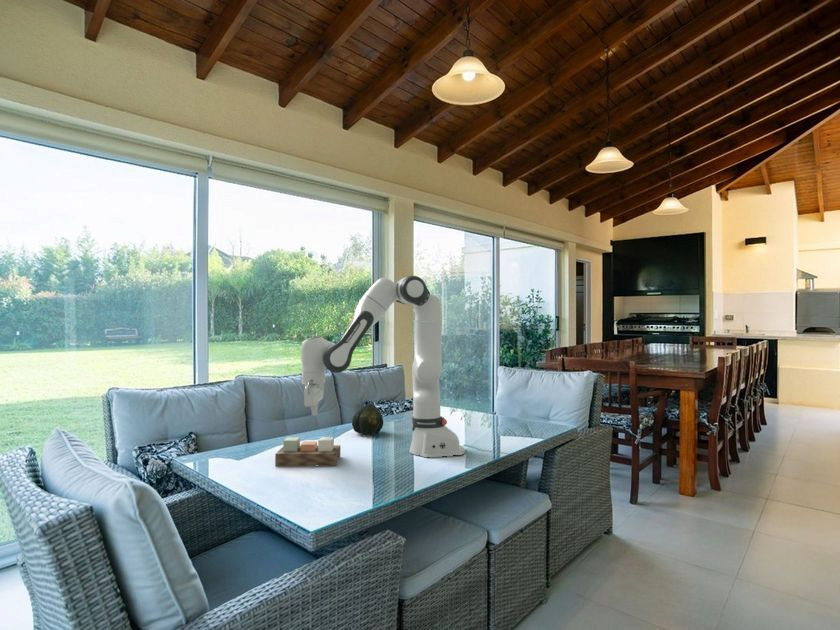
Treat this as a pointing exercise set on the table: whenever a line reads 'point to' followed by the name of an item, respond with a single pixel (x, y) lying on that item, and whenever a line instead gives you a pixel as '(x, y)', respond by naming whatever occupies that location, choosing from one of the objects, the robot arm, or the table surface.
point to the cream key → (326, 444)
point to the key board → (308, 457)
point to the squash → (367, 420)
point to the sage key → (291, 444)
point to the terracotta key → (309, 446)
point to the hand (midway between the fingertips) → (314, 414)
